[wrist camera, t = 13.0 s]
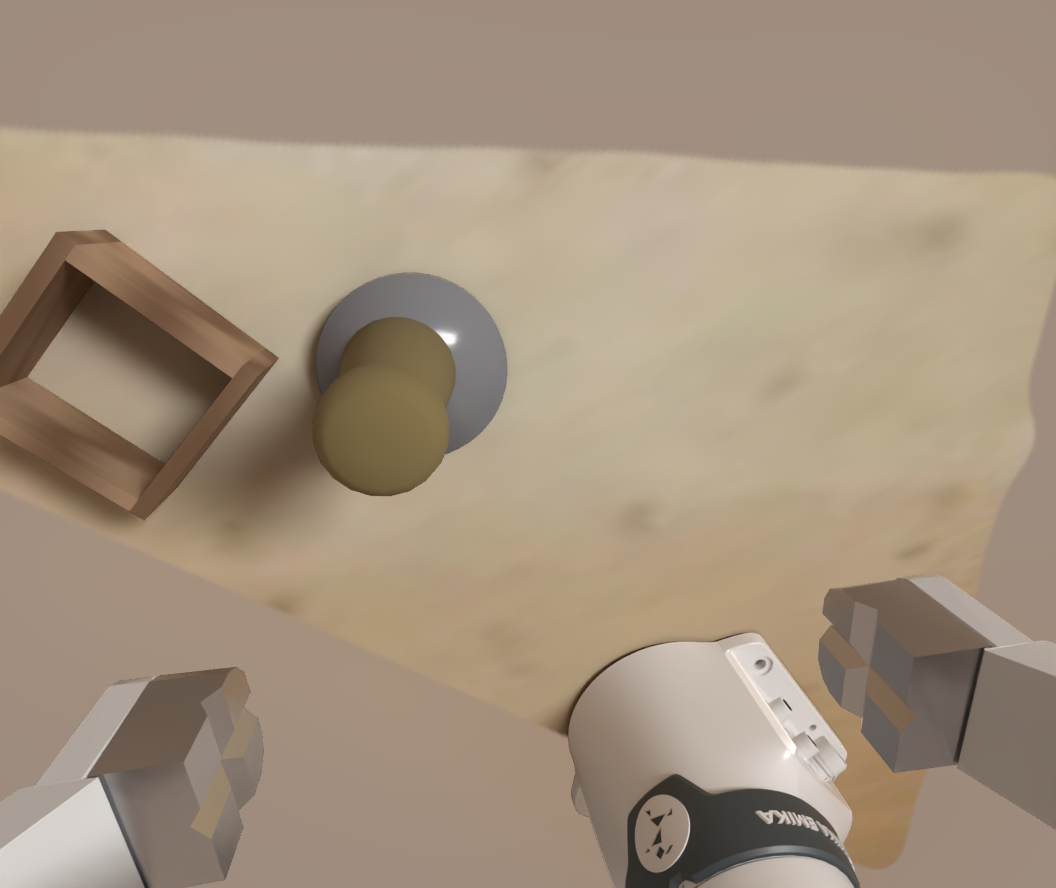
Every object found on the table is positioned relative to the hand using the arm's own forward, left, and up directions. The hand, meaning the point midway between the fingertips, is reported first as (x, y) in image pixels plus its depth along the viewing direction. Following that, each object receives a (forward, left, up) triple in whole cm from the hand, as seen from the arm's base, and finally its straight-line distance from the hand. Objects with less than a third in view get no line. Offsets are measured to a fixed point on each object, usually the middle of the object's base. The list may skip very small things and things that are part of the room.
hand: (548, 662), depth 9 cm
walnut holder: (+12, +13, -27) cm, 32 cm away
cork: (+2, +4, -26) cm, 26 cm away
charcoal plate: (+1, +4, -27) cm, 27 cm away
